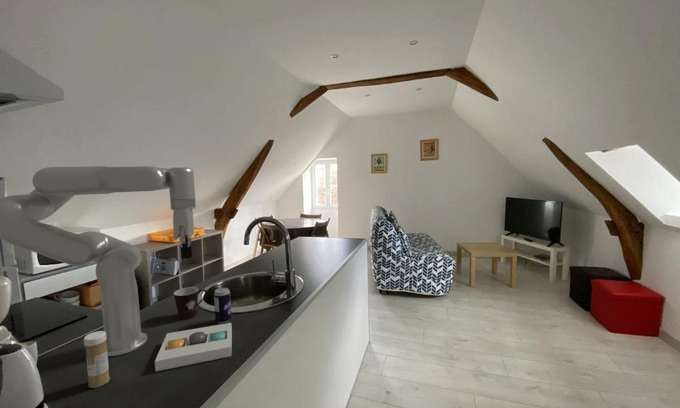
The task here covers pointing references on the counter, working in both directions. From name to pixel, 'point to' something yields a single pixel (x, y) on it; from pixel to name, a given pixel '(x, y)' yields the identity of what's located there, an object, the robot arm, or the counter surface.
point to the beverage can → (222, 305)
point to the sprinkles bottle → (97, 359)
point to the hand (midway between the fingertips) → (186, 257)
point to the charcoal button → (197, 338)
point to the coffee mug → (187, 302)
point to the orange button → (176, 344)
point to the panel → (194, 348)
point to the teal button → (217, 336)
